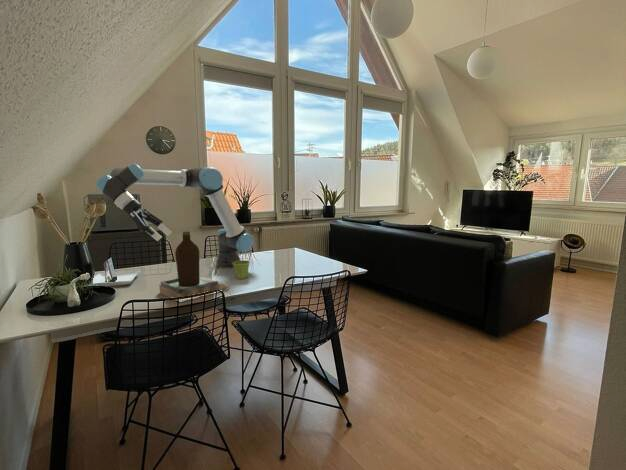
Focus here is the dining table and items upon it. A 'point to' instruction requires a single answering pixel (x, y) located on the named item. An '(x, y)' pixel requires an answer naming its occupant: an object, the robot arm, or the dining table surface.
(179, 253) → the olive oil
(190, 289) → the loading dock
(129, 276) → the salad plate
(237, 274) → the plant pot
